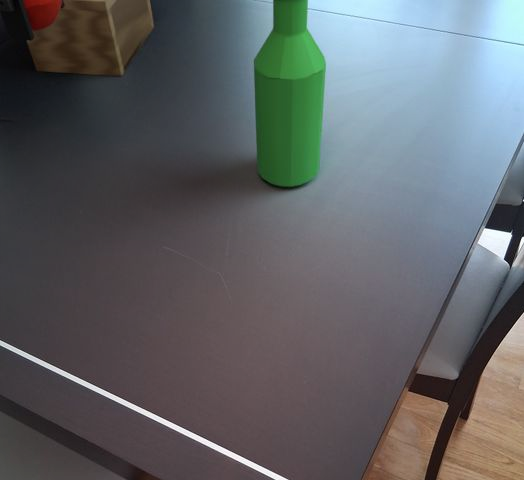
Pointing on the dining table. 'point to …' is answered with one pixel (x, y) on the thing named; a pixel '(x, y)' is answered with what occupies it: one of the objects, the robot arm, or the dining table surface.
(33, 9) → the apple
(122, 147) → the dining table surface
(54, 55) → the wood grain cube
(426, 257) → the dining table surface
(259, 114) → the bottle
